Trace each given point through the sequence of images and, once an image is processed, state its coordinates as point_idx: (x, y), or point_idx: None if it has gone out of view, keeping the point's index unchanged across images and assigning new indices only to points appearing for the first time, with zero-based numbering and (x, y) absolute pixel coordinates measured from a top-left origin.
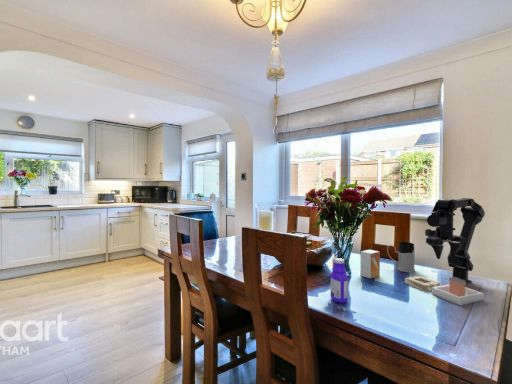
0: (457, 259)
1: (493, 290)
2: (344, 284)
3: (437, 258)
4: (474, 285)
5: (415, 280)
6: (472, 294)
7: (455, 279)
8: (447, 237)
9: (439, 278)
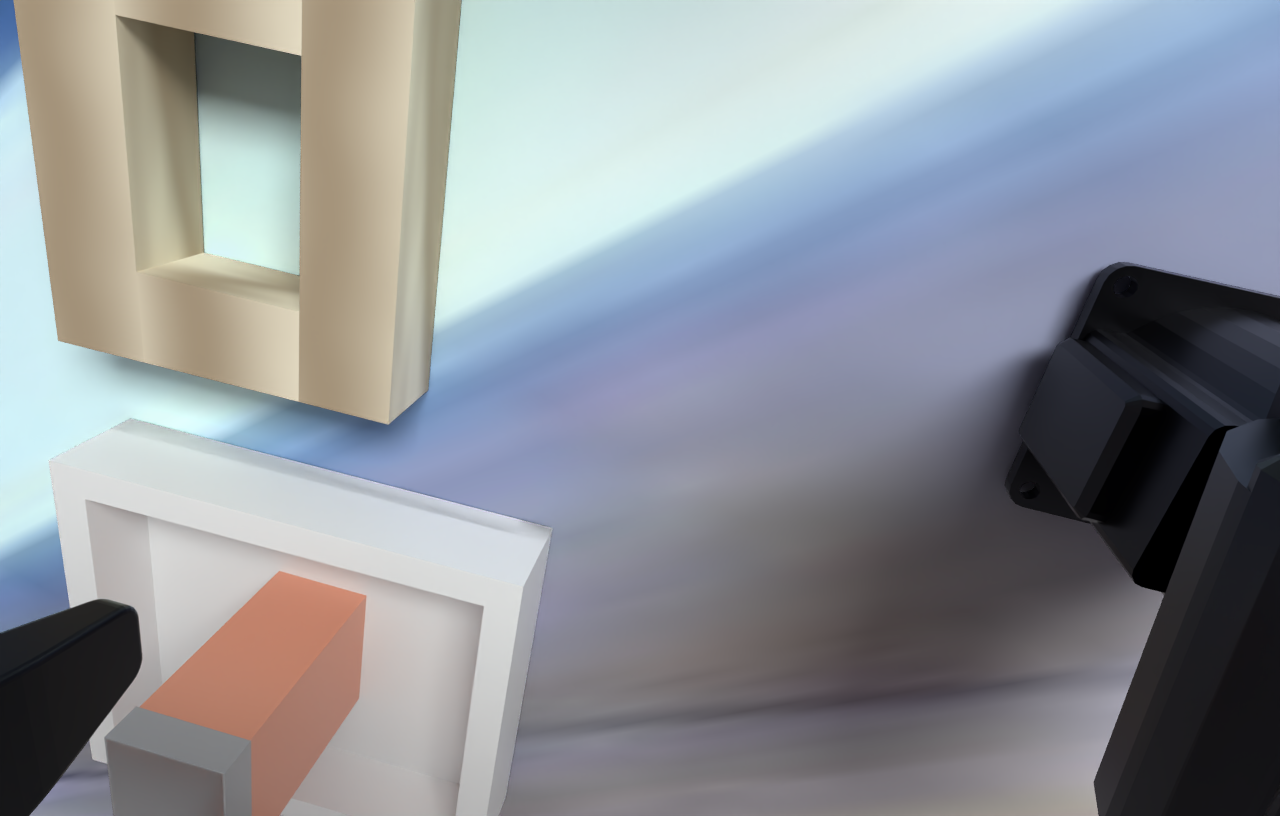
0: (1196, 793)
1: (997, 802)
2: None
3: (98, 615)
4: (1042, 620)
5: (90, 96)
6: (316, 811)
7: (122, 810)
8: None
9: (992, 110)
